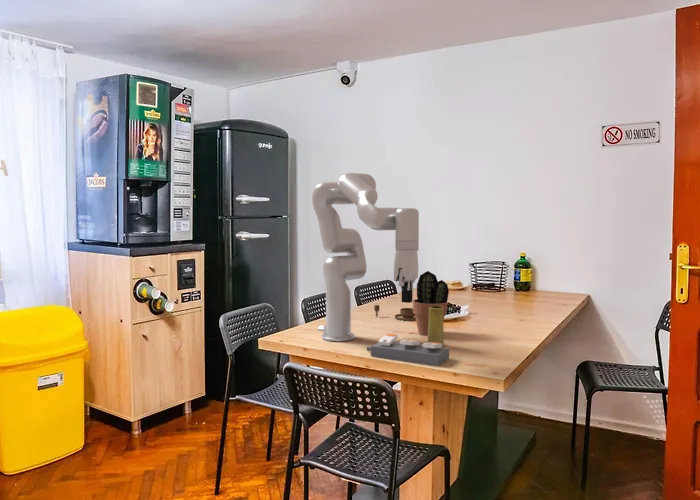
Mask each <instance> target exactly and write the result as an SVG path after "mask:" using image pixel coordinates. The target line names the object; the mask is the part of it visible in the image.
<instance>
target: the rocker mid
mask: <svg viewBox="0 0 700 500" xmlns="http://www.w3.org/2000/svg"><path fill="white" fill-rule="evenodd" d="M399 342H400V344H404V345H419V344H420V340H418V339H410V338H409V339H401V340H400V341H399Z"/></svg>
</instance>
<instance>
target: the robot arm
mask: <svg viewBox="0 0 700 500" xmlns="http://www.w3.org/2000/svg"><path fill="white" fill-rule="evenodd" d="M376 189H377V184H376V180H375V178H374V177H373V176H372V175H370V174H368V173H362V172H360V173H359V172H346V173H344V174H342V175H341V176H340V177H339V178H338V180H337V181H325V182H320V183H318V184H316V185H315V186H314V189H313V191H312V196H311V201H312V206H313V210H314V212H315V216H316V218H317V222H318V227H319V233H320V237H321V243H322V247H323V250H324V251H325V252H326V253H327V254H346V255H336V256H335V255H334V256H331V257H328V258H327V259H326V260H325V261H324V263H323V264H322V266H323V267H322V270H323V277H324V278H323V279H324V284H325V325H324V324H319V326H318V328H317V330H318V331H320V332H323V333H322V335H321V338H322V339H323V340H325V341H329V342H347V341H351V340H352V341H353V340H354V339H355V337H356V335H355V333H354V332H352V328H351V326H352V322H351V321H352V319H351V318H352V316H351V315H352V305H351V302H352V301H351V299H352V298H351V290H350V287H349V285H348V283H347V282H346V281H351V280H361V279H363V277H365V276H366V273H367V262H366V261H367V260H366V256H365V250H364V245H363V241H362V240H363V239H362V236H361V235H360V232H359V231H358V230H356V229H354V228H349V227H348V228H344V227H343V226H342V221H341V217H340V215H339V213H338V212H337V209H335V208H334V207H333V205H353V204H354V205H355V206H356V211H357V216H358V218H359V219H360V221H361V222H362V223H364V224H365V225H366V226H367V227H369V228H370V229H372V230H375V231H395V233H394V234H395V235H394V236H395V243H394V245H395V248H394V249H395V253H394V262H393V280H394V282H398V286H399V287H400V290H401V303H408V304H410V303H413V291H414V290H413V289H414V283H415V282H416V280H417V279H419V257H418V252H419V249H420V247H419V245H420V244H419V242H420V238H419V237H420V235H419V234H420V231H419V230H420V228H419V227H420V225H419V224H420V223H419V221H420V220H419V219H420V218H419V215H420V214H419V210H418V209H417V208H415V207H414V208H412V207H404V208H403V207H377V206H376V205H375V204H376V203H377V200H378V199H379V198H378V196H379V195H378V192H377V190H376Z"/></svg>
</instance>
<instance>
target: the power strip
mask: <svg viewBox="0 0 700 500" xmlns="http://www.w3.org/2000/svg"><path fill="white" fill-rule="evenodd" d="M422 346H423V344H420V343H419V345H404V344H400V341H397V340H395V341H394V342H393V343H392V344H391V345H390V346H386V345H378V342H376V343H375V344H372V345H371V346H366V351H370V357H375V358H382V359H388V360H392V361H401V362H407V363H414V364H419V365H426V366H427V365H429V366H434V367H439V366H441V365H442V364H444V363H445V362H447V361H448V360H450V348H449V347H442V348H426V347H422Z"/></svg>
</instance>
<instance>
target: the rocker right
mask: <svg viewBox="0 0 700 500" xmlns="http://www.w3.org/2000/svg"><path fill="white" fill-rule="evenodd" d="M422 345H423V346H422V347H426V348H442V344H441V343H435V342H429V343H428V342H424V343H422Z"/></svg>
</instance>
